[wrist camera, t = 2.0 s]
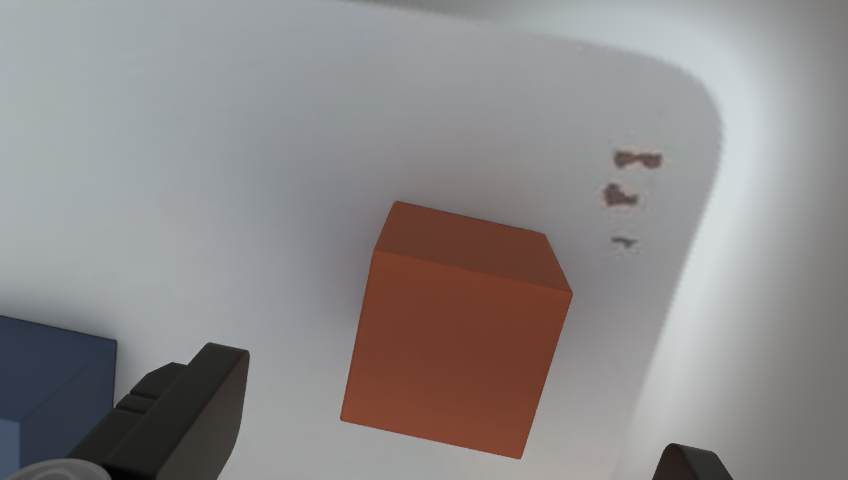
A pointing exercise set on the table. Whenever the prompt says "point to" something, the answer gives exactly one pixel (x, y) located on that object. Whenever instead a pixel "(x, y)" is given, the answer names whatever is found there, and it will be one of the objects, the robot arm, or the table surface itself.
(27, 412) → the slate block
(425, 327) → the terracotta block
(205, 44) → the table surface
